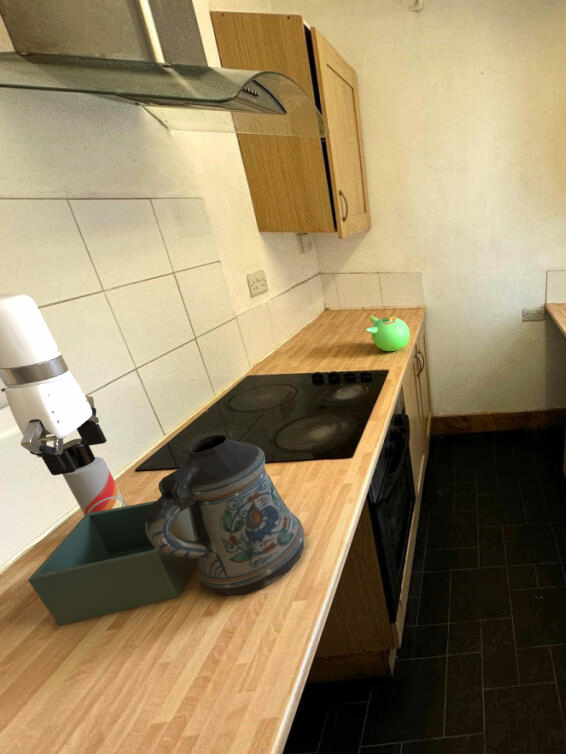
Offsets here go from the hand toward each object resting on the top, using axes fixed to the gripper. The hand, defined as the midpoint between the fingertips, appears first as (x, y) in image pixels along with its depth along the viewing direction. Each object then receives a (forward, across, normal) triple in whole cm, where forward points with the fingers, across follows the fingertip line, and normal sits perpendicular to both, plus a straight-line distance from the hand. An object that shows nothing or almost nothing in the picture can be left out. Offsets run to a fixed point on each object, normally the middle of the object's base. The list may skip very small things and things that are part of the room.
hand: (81, 457), depth 75 cm
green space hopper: (+18, -94, +58) cm, 112 cm away
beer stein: (+17, +19, +28) cm, 38 cm away
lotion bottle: (+17, 0, -1) cm, 17 cm away
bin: (+17, +15, +10) cm, 25 cm away
